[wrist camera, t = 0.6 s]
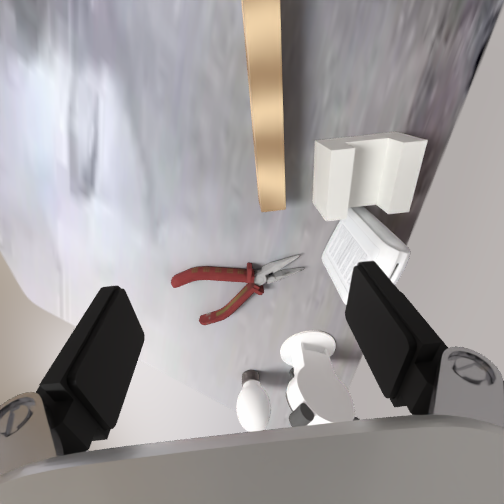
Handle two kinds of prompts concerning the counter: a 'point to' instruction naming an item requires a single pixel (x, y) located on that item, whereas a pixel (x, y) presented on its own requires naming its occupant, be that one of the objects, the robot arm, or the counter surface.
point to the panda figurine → (315, 381)
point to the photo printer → (363, 249)
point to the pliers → (236, 275)
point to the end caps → (366, 173)
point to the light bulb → (253, 403)
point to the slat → (266, 98)
